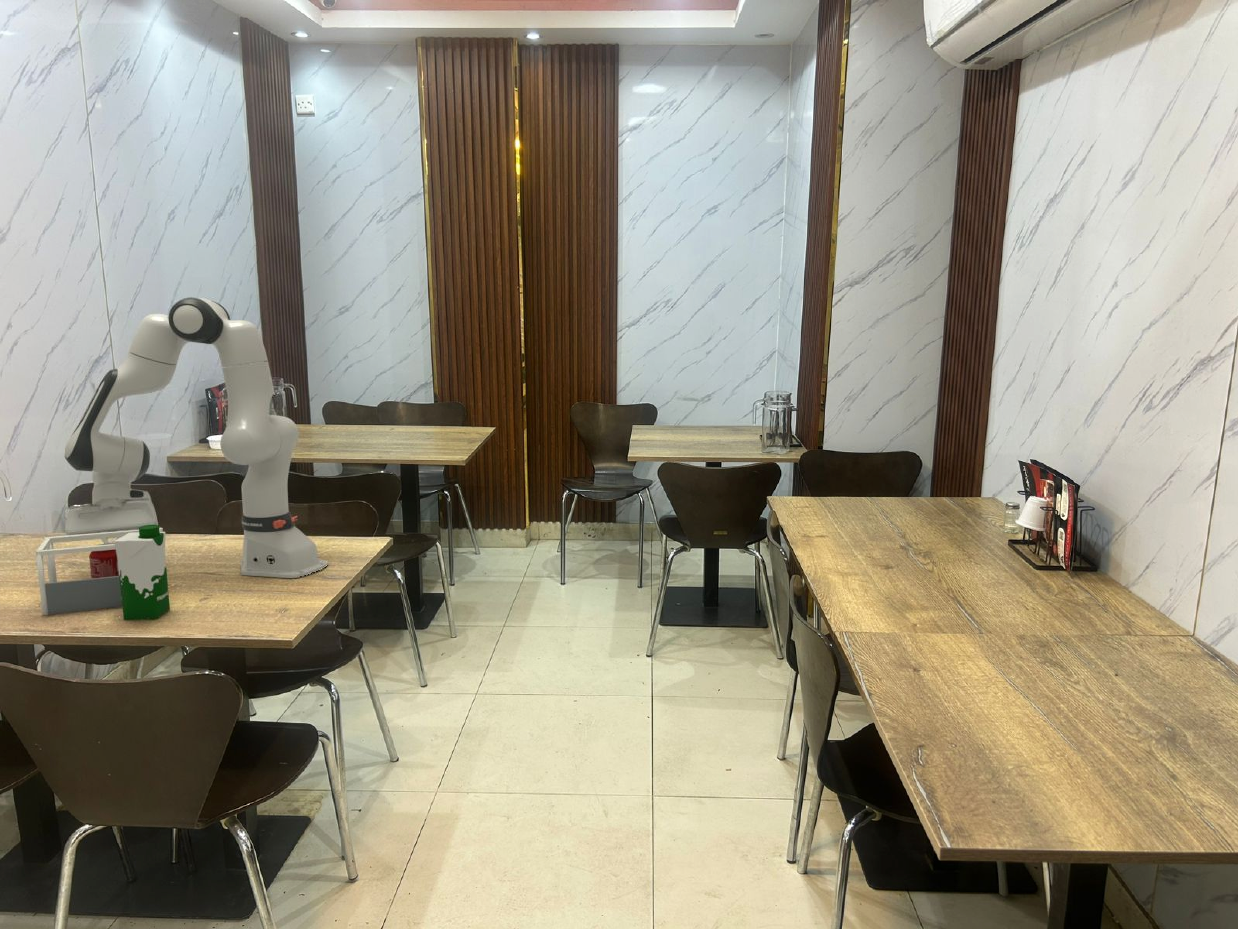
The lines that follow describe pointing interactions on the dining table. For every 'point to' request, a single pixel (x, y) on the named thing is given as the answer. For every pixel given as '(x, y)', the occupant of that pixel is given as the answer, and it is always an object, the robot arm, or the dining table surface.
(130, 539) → the milk carton
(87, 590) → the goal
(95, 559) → the soda can
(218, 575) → the dining table surface
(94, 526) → the robot arm
